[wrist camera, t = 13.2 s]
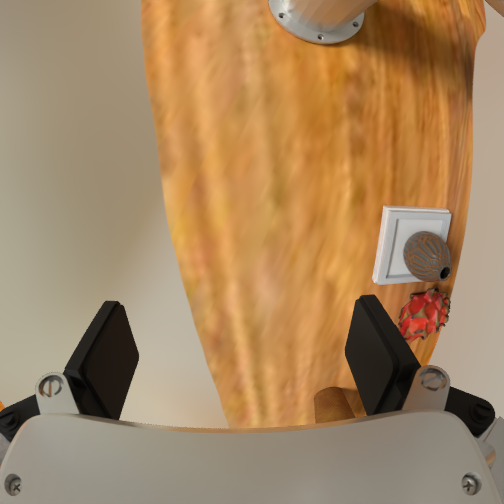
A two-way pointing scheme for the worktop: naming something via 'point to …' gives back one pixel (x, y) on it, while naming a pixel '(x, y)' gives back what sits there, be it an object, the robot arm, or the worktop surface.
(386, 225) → the baseplate
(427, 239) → the vase
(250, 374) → the worktop surface
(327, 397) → the disposable coffee cup
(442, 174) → the worktop surface
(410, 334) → the dragon fruit
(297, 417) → the worktop surface
